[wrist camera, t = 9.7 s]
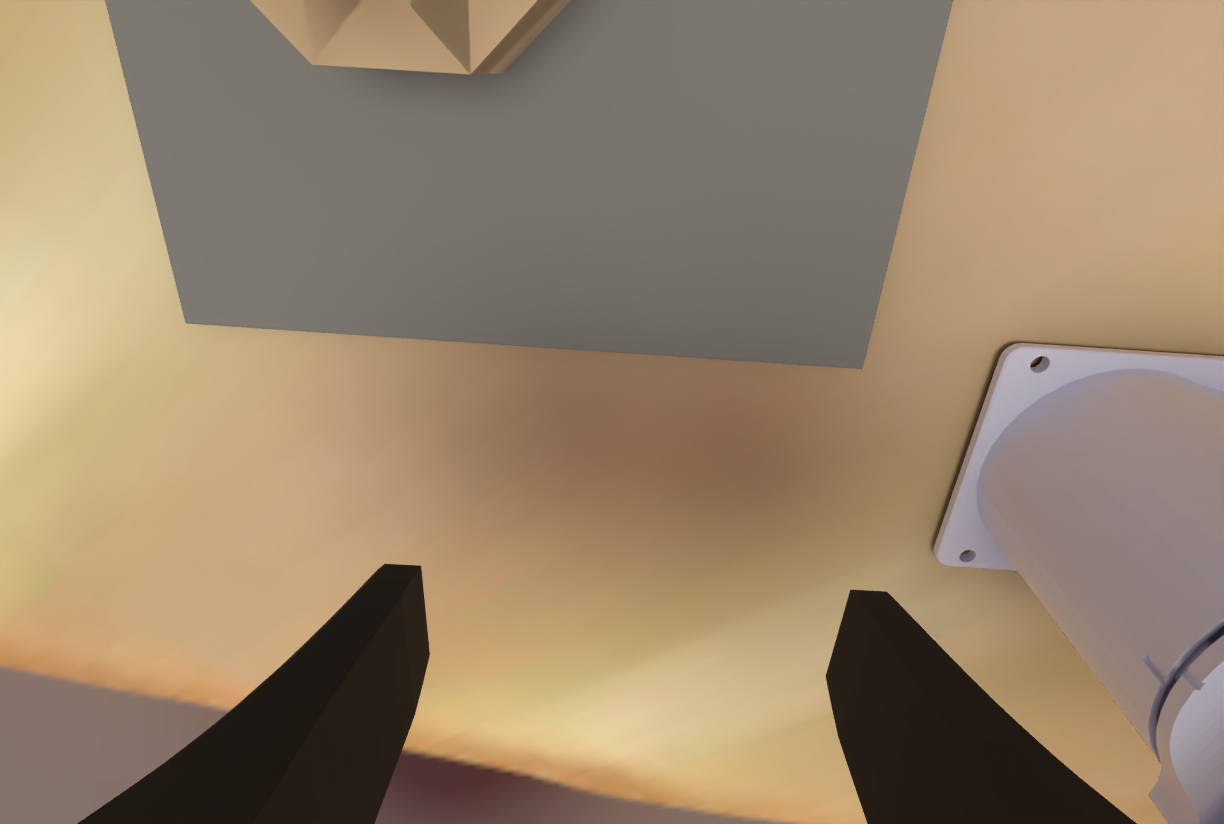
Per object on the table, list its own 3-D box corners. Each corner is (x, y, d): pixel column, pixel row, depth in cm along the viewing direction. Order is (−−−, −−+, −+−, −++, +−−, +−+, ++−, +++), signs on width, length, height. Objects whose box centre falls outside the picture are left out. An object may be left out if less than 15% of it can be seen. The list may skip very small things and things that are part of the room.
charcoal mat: (1061, -490, 12) (1079, -515, 12) (856, 361, 20) (862, 368, 20) (-9, -545, 13) (-38, -571, 12) (198, 316, 20) (185, 323, 20)
